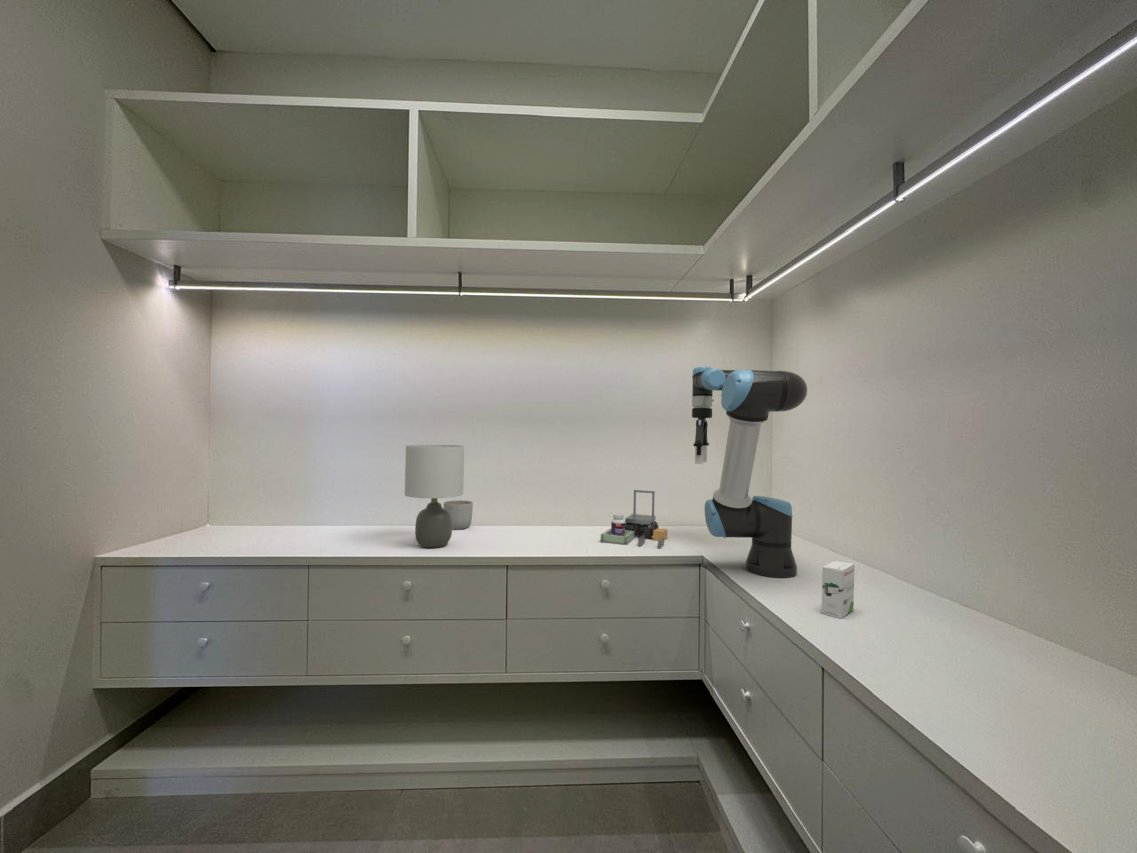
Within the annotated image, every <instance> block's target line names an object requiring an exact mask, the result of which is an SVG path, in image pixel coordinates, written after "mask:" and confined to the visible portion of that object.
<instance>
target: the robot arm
mask: <svg viewBox="0 0 1137 853" xmlns="http://www.w3.org/2000/svg"><path fill="white" fill-rule="evenodd" d="M691 378H692V391H691V392H692V393H691V394H692V395H691V406H692V408H691V418H694V419H696V420H695V422H696V423H695V436H694V437H695V440H694V443H693V447H695V453H694V458H695V459H694V464H695V465H704V463H708V462H707V460H708V459H707V458H708V457H707V456H708V451H707V450H708V446H709V445H710V443H709V442H708V426H709V425H708V420H706V419H712V418H713V408H711V407H713V402H714V401H715V399H713V394H714V393H713V391H721V396H720V397H721V399H720V402H721V407H722V409H723V410H725V412H726V413H725V414H726V416H727V417H728V419H730V420H729V426H728V432H727V438H726V445H725V452H724V459H723V465H722V470H721V476H720V477H721V478H720V482H719V488H718V489H717V490H714V492H713V495H712V498H711V499H707V500H706V501H705V503H704V517H705V523H706V527H707V529H708V532H709V534H711V536H712V537H716V538H723V539H726V538H743V539H744V538H747V539H748V538H749V539H751V546H750V549H749V552H748V554H747V557H746V560H745V570H747V571H748V572H750V573H753V574H755V575H760V576H764V577H771V578H791V577H795V576H797V574H798V566H797V563H796V560H795V557H794V553H793V551H792V550H793V549H792V532H793V529H792V527H793V526H792V525H793V518H794V516H793V509H792V508H793V507H792V504H791V503H790V502H789V501H786V500H784V499H781V498H780V499H779V498H774V497H769V496H763V495H753V496H752V497H751V496H750V495H749V492H750V491H749V490H750V486H751V482H752V481H751V480H752V475H753V470H754V464H755V458H756V453H757V447H758V442H759V436H760V431H761V426H762V424H764V423H766V422H767V421H768V420H769V419H768V418H769V414H770V412H772V413H773V412H787V411H791V410H793V409H795V408H797V407H799V406H800V405H802V403H803V402H804V401H805V400H806V397H807V394H808V387H807V383H806V381H805V379H804V378H803V377H802V376H800V375H799V374H797V373H795V372H792V371H786V370H760V369H756V370H755V369H744V370H743V369H742V370H740V369H738V370H736V369H720V368H713V367H711V366H696V367H694V368H693V370H692V377H691Z"/></svg>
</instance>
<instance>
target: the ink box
mask: <svg viewBox="0 0 1137 853" xmlns="http://www.w3.org/2000/svg"><path fill="white" fill-rule="evenodd" d="M821 579H822V580H821V581H822V582H821V583H822V585H821V614H823V615H826V616H829V617H834V618H837V619H843V618H845V617H846V616H847V615H849V614H850V613H851V612H853V611H854V604H855V602H854V600H855V599H854V598H855V596H854V594H855V564H854V563H852V562H846V561H845V562H843V561H836V560H833V561H832V562H830V563H828V564H825V565H823V566H822V578H821Z"/></svg>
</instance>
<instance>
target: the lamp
mask: <svg viewBox="0 0 1137 853" xmlns="http://www.w3.org/2000/svg"><path fill="white" fill-rule="evenodd" d="M464 464H465V446H464V445H455V444H408V445H407V444H406V445H405V466H404V467H405V468H404V470H405V473H404V496H405V497H409V498H415V499H416V498H417V499H431V500H430V502H428V503H427V505H426V507H425V508H423V509H421V510H420V511H419V512H418V514H417V516H416V519H415V520H416V521H415V533H414V536H415V540H416V542H417V544H418V545H419V546H420V547H422V548H427V549H435V548H441V547H444V546H446V545H447V544H448V543H449V541H450V540H451V538H452V536H453V535H452V532H453V529H452V521H451V516H450V513H449V512H448V511H447V510H446V509H444V507H443V505H442V503H440V502H439V501H438V499H448V498H449V499H450V498H456V497H460V496H462V495H464V470H465V465H464Z"/></svg>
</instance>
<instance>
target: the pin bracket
mask: <svg viewBox="0 0 1137 853" xmlns="http://www.w3.org/2000/svg"><path fill="white" fill-rule="evenodd" d="M644 544H646V539H645V535H642V536H640V537H638V538H637V547H639V548H640V547H642V546H643V545H644ZM664 546H665V541H664V537H661V538H660V539H659V540H658V541H657V549H659V550H661V549H662V548H663V547H664Z"/></svg>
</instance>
